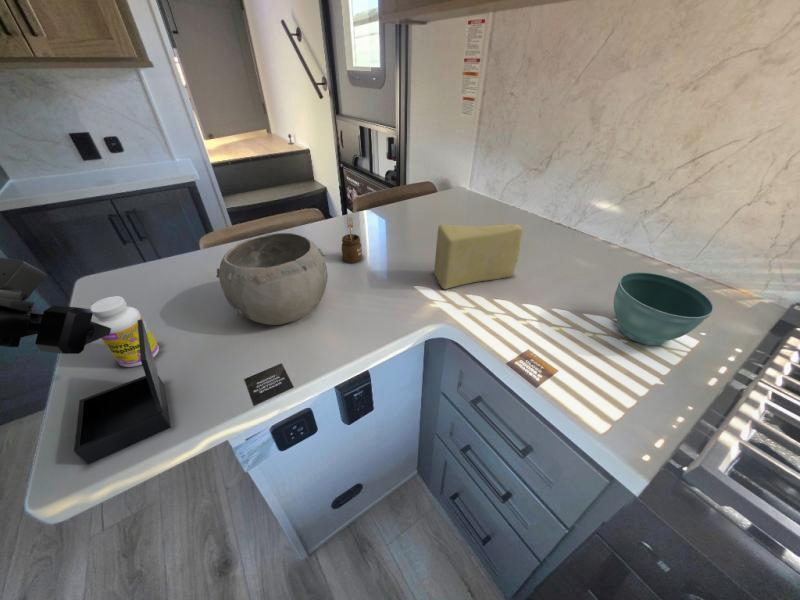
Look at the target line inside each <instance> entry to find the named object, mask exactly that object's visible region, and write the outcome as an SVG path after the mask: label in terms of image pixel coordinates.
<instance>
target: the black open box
mask: <svg viewBox="0 0 800 600" xmlns="http://www.w3.org/2000/svg"><path fill="white" fill-rule="evenodd" d="M158 380H159V387H160V395H161V403H162V410H163V412H160V413H158V412H157V409H156V406H155V403H154V400H153V397H152V393H151V390H150V387H149V384H148V381H147V378H146V375H143V376H140V377H138V378H135V379H132V380H130V381H127V382H124V383H122V384H119V385H117V386H113V387H111V388H108V389H106V390H103V391H100V392H98V393H97V392H96V393H95V394H92V395H88V396H87V397H84V398H82V399H79V401H78V412H77V418H76V428H75V437H74V445H73V447H74V448H73V452H74V453H75V454H76V456H78V457H79V458H80V459H81V460H82V461H83V462H85V463H86V464H87V465H88V466H89V465H91V464H93V463H95V462H97V461H100V460H102V459H105V458H106V457H108V456H110V455H113V454H115V453H117V452H120V451H122V450H124V449H126V448H129V447H131V446H133V445H135V444H138V443H140V442H142V441H144V440H146V439H148V438H150V437H153V436H155V435H157V434H159V433H162V432H164V431H166V430H169V429H170V428H171V420H170V419H171V418H170V414H169V413H170V411H169V407H168V399H167V393H166V387H165V386H166V385H165V384H164V382H163V380H162V379H161V377H160V375H158Z"/></svg>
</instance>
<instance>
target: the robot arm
mask: <svg viewBox="0 0 800 600" xmlns="http://www.w3.org/2000/svg"><path fill="white" fill-rule="evenodd" d="M47 276H48V275H47V273H46V272H44V271H43V270H41V269H39V268H37V267H36V266H34V265H32V264H29V263H28V262H26V261H24V260H23V259H17V258H8V257H7V258H4V257H0V347H3V348H5V347H6V348H19V346H20V343H21V339H22V338H25V337H29V336H30V337H31V336H35V335H36V339H35V343H34V345H35V346H36V347H37V348H38V349H39V350H40V352H44V353H55V354H63V355H74V354H75V355H78V354H81V353H82V352H83V351H85V347H86V346H87V345H89V344H91V343H93V342H96V341H98V340H100V339H101V338H103V337H105V336H107V335H109V334H110V331H111V328H109V327H106V326H103V325H100V324H97V323H94V321H92V318H93V316H94V315H93V313H92V311H91V309H90V308H85V307H77V306H68V305H67V306H66V305H56V304H53V305H52V306H50V307H48V308H47V309H45V310H43V313H37V312H32V311H33V308H34V303H35V302H33V301H26V300H27V299H29V298H30V296H31V295H32V294H33V293H34V291H35V290H36V289H37V288H38V286H39V285H40V284H41V283H43V282H44V281H45V280H46V279H47Z"/></svg>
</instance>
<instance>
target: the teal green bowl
mask: <svg viewBox="0 0 800 600" xmlns="http://www.w3.org/2000/svg"><path fill="white" fill-rule="evenodd" d="M613 311H614V315H615V318H616V327H617V329H618V330H619V332H620V333H622V334H623V335H624V336H626V338H629V340H630V339H631V340H632V341H634V342H637V343H639V344H643V345H646V346H660V345H662V344H664V343H665V342H668V341H673V340H675V339H676V340H677V339H678V338H681V337H683V336H685V335H687V334H689V333H690V332H692V331H694V330H695V329H696V328H697V327H699V326H700V325H701V324H702V323H703V322H704V321H705V320H706V319H708V318H709V317H710V316H711V315H712V314H713V313H714V311H715V307H714V303H713V302H712V300H711V299H710V298H709V297H708V295H706V294H705V293H703V292H702V291H700V290H699V289H697V288H695V287H694V286H692V285H690V284H688V283H686V282H684V281H681V280H679V279H677V278H673V277H671V276H666V275H663V274H658V273H654V272H646V271H633V272H628V273H625V274H623V275H622V276H621V277H620V278H619V279H618V283H617V288H616V289H615V292H614V297H613Z"/></svg>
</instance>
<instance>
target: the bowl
mask: <svg viewBox="0 0 800 600" xmlns="http://www.w3.org/2000/svg"><path fill="white" fill-rule="evenodd" d="M325 256H326V255H325V253H324V252H323V250H322V248H321V247H320V248H319V247H318V246H317V245H316V244H315V242H314V241H312V240H311V239H310V238H308V237H306V236H303V235H300V234H296V233H291V232H278V233H270V234H269V233H268V234H265V235H261V236H260V235H259V236H256V237H253V238H252V237H251V238H249V239H246V240H243V241H241V242H239V243H237V244H236V245H234V246H233V247H232V248H230V249H229V250H227V251H226V253H225V254H224V255H223V257H222V259H221V261H220V264H219V268H216V276H215V277H216V278H218V279H219V283H220V287H221V289H222V292H223V294H224V297H225V299H226V300H227V302H228V304H229V305H230V307H232V308H233V310H235V311H236V314H237V316H238V318H240V320H244V319H245V318H246V319H249V320H251V321H253V322H255V323H259V324H263V325H267V326H280V325H284V324H289V323H290V324H291V323H293V322H296V321H299V320H301V319H303V318H304V317H306V316H308V315H309V314H311V313H312V312H313V311H314V310H315V309H316V308H317V307H318V305H319V304H320V302H321V300H322V298H323V297H324V294H325V292H326V288H327V284H328V278H329V277H328V276H329V275H328V267H327V263H326V261H325V258H324V257H325Z"/></svg>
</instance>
